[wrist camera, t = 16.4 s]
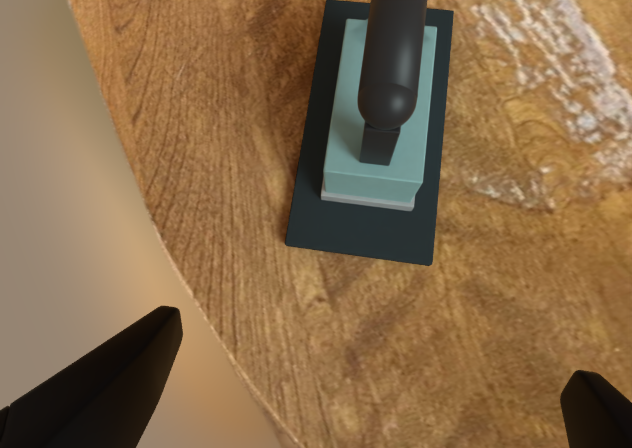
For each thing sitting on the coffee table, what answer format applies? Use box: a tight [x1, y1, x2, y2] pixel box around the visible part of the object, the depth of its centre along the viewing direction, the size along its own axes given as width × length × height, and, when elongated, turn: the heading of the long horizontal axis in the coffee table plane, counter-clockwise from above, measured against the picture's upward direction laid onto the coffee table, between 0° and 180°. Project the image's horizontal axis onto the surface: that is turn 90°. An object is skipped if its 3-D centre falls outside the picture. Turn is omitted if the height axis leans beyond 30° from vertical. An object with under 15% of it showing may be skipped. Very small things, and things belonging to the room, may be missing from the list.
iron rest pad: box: [285, 0, 454, 266], centre depth 24 cm, size 16×8×1 cm, turn 171°
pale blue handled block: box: [321, 0, 437, 211], centre depth 19 cm, size 10×5×9 cm, turn 172°
